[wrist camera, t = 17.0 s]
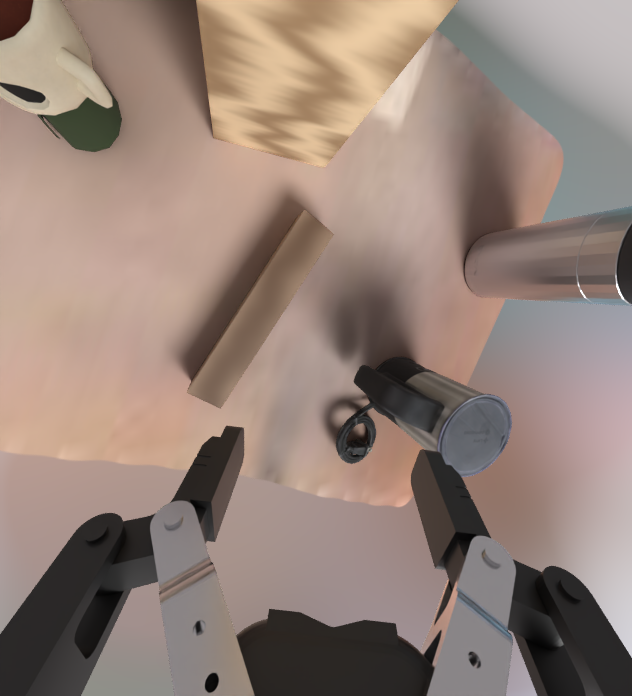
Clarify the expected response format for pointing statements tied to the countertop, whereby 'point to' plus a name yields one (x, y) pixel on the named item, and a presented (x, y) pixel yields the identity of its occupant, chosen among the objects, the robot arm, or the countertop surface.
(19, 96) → the character mug
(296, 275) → the rod
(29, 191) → the countertop surface
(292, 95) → the stand
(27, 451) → the countertop surface
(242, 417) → the countertop surface
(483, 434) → the milk frother
